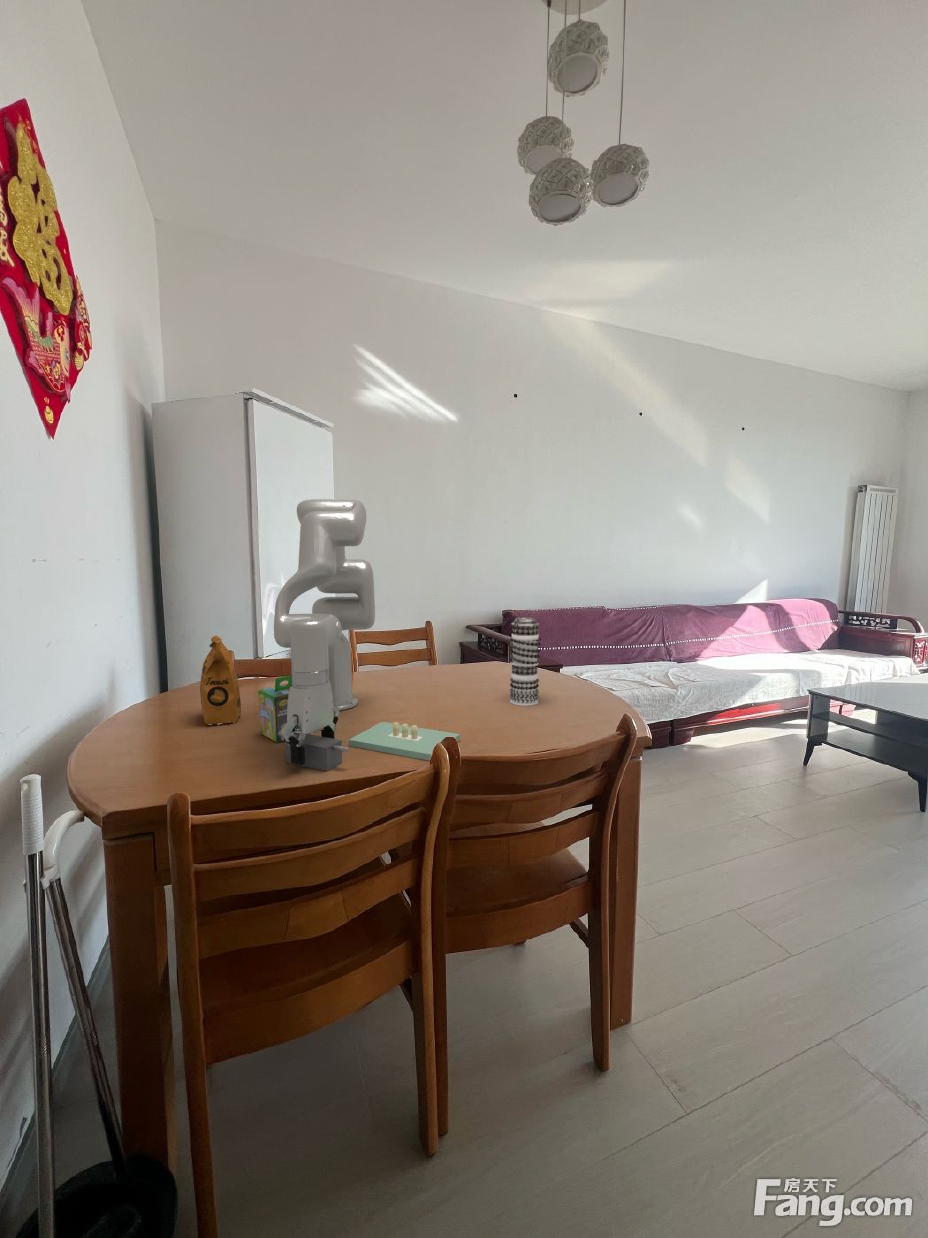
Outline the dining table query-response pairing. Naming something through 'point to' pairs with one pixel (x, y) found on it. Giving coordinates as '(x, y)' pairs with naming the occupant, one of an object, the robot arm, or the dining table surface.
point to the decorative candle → (524, 662)
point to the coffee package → (219, 686)
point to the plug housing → (319, 752)
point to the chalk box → (274, 708)
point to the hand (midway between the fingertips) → (313, 755)
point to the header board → (401, 740)
